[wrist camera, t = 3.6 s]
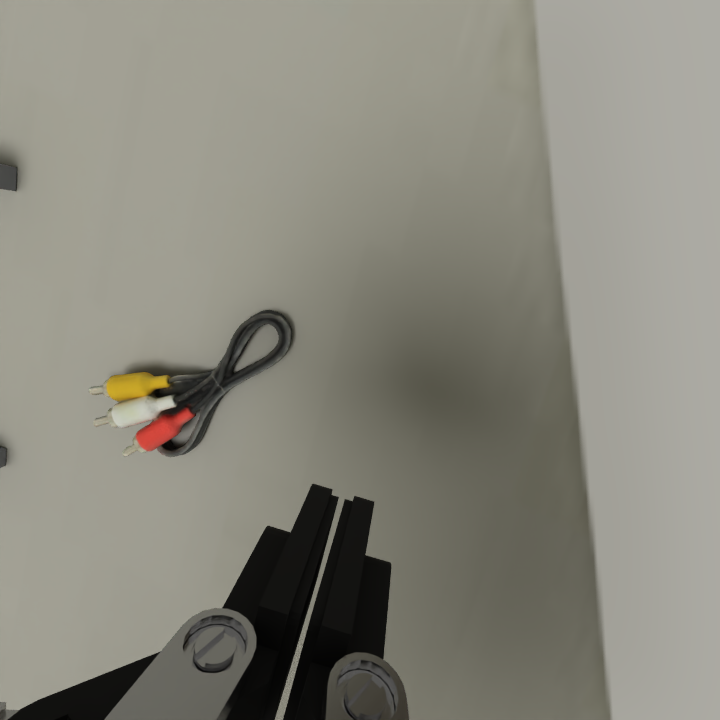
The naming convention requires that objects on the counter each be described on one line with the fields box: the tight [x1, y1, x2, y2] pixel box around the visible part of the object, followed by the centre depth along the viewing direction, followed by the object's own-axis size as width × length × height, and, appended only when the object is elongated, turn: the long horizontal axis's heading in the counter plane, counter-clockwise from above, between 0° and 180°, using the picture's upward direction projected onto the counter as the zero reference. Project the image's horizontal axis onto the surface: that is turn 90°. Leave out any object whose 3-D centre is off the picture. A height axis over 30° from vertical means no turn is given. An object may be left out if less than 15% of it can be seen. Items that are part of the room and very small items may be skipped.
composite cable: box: [89, 310, 292, 457], centre depth 20 cm, size 10×5×2 cm, turn 115°
